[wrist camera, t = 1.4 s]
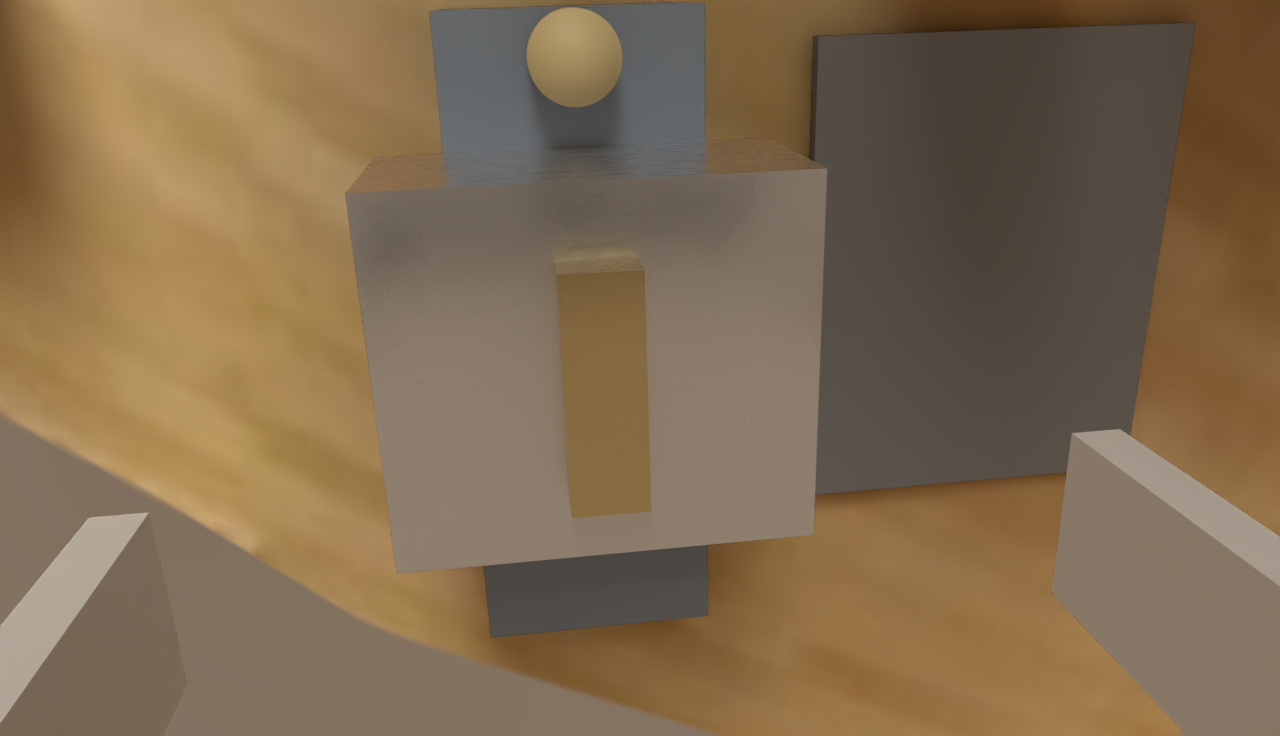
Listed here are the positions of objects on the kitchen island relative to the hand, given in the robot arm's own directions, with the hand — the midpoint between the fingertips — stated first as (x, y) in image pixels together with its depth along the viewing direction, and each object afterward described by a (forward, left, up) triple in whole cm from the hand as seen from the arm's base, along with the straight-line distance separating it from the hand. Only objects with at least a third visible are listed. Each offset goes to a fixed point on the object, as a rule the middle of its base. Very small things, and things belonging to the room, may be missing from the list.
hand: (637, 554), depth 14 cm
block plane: (+1, 0, -16) cm, 16 cm away
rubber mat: (+1, +13, -16) cm, 20 cm away
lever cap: (0, 0, -11) cm, 11 cm away
